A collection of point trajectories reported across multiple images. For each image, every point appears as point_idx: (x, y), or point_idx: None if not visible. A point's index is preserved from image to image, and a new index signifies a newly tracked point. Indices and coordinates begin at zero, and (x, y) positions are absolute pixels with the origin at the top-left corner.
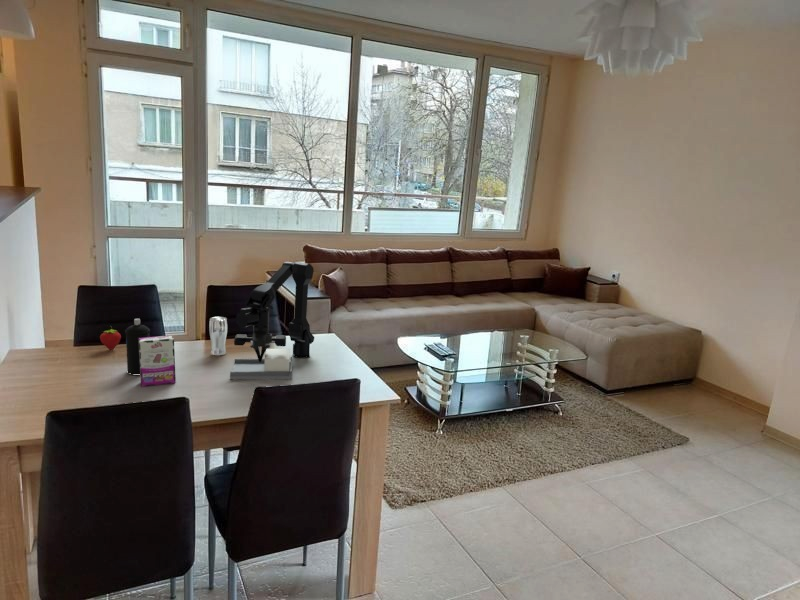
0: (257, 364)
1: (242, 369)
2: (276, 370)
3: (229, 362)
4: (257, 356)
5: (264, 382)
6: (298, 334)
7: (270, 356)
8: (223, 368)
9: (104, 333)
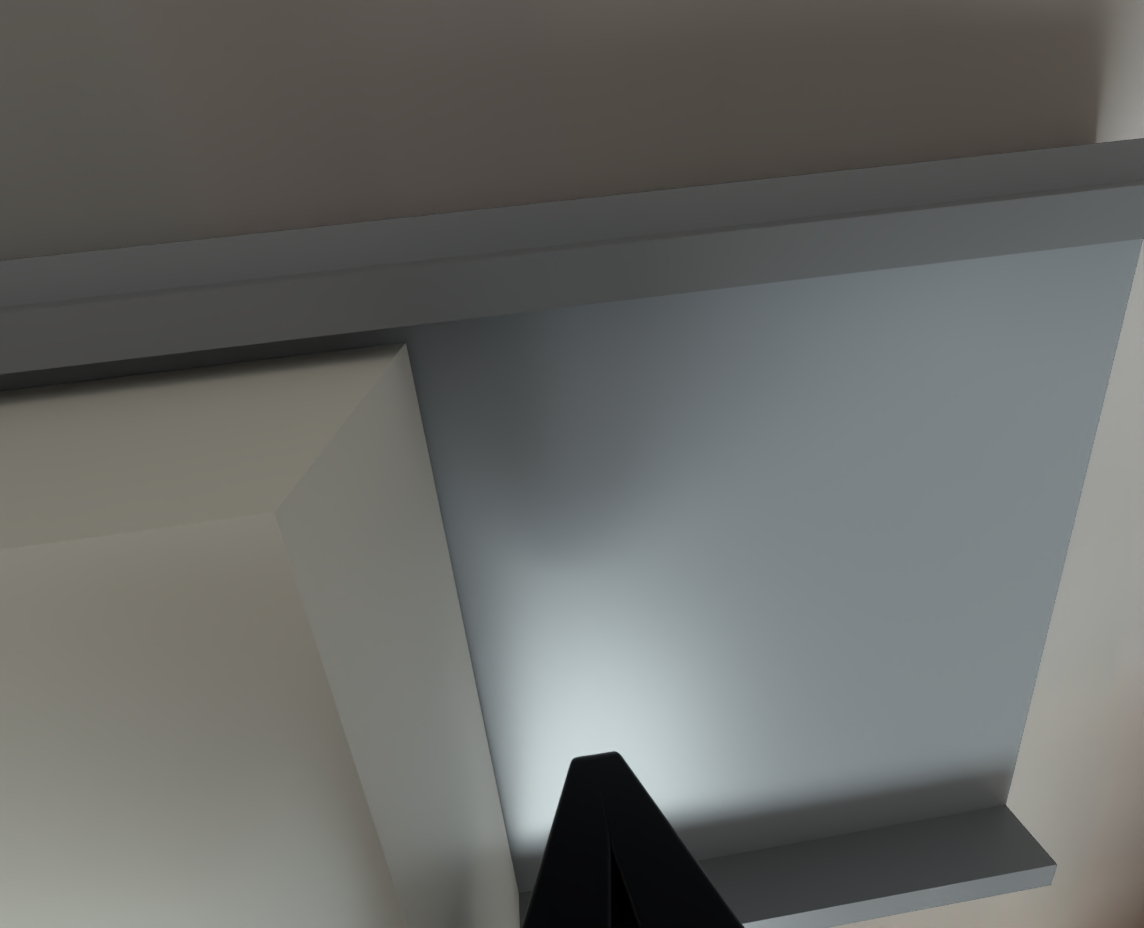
0: None
1: (894, 570)
2: (31, 405)
3: None
4: (707, 882)
5: (333, 5)
6: None
7: (142, 915)
8: (1128, 654)
9: None
